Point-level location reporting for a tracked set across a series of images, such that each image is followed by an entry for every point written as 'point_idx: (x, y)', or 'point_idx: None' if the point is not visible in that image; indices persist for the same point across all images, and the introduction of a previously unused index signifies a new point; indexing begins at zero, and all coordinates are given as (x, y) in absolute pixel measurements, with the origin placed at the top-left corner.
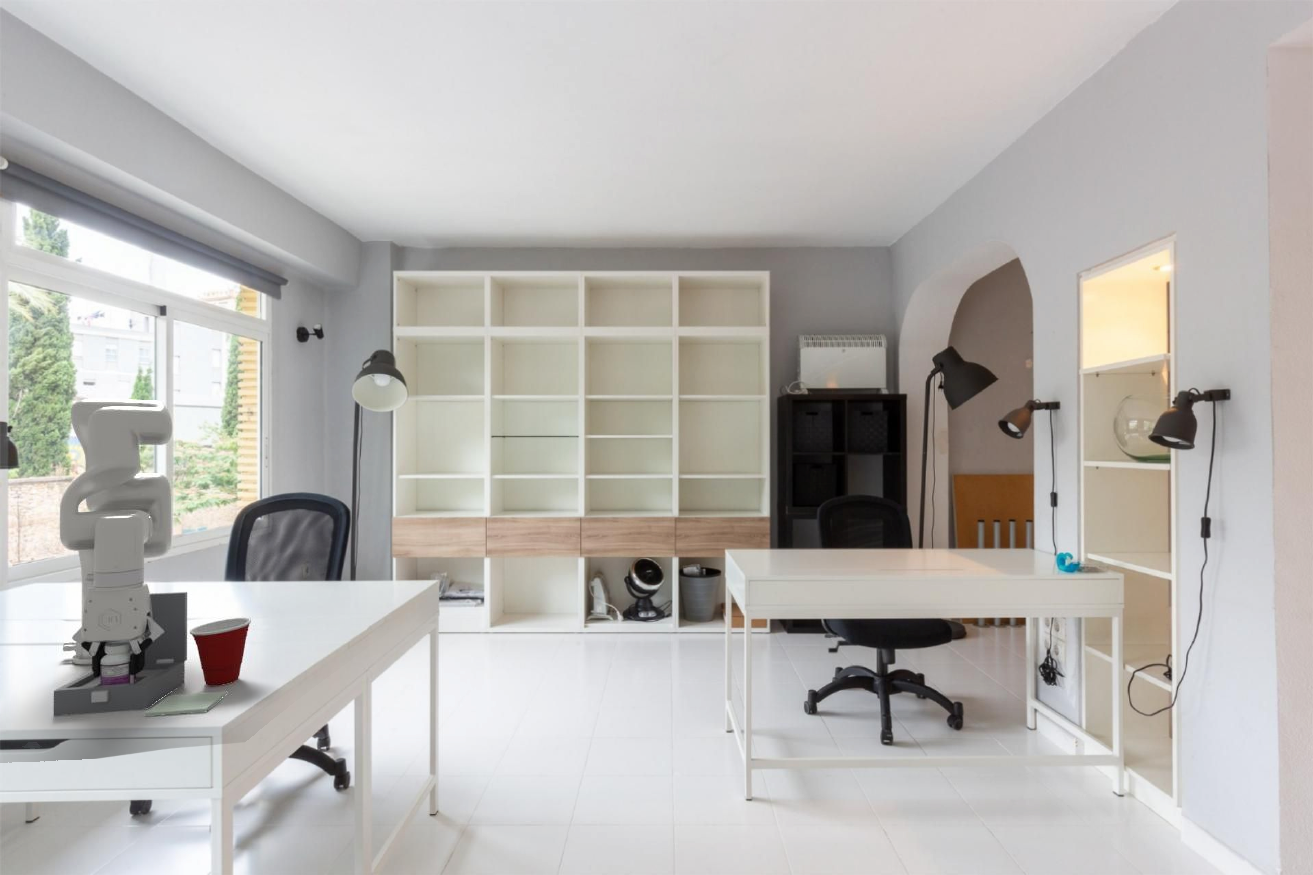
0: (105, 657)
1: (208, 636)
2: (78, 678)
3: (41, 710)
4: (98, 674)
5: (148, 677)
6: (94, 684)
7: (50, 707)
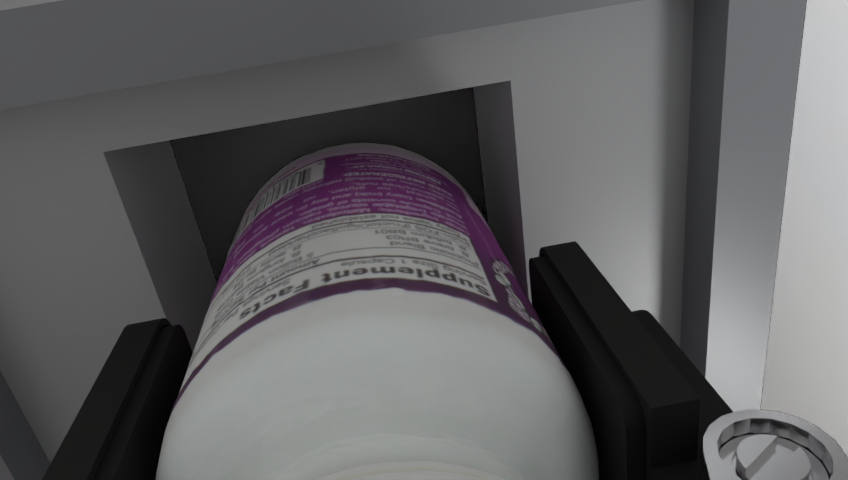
0: (493, 414)
1: None
2: (767, 298)
3: (835, 44)
4: (537, 272)
5: None
6: None
7: (801, 107)
